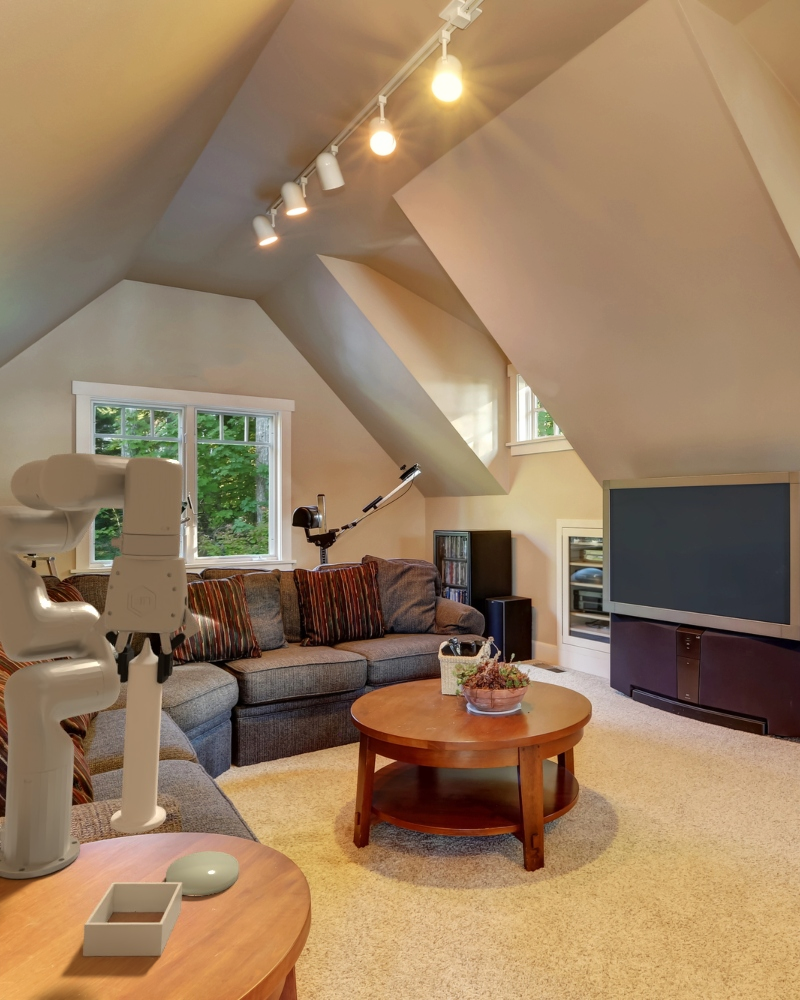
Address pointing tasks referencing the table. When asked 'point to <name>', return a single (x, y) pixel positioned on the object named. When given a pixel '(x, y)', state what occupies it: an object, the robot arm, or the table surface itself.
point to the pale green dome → (204, 872)
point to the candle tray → (133, 935)
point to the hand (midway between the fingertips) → (144, 679)
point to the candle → (141, 747)
